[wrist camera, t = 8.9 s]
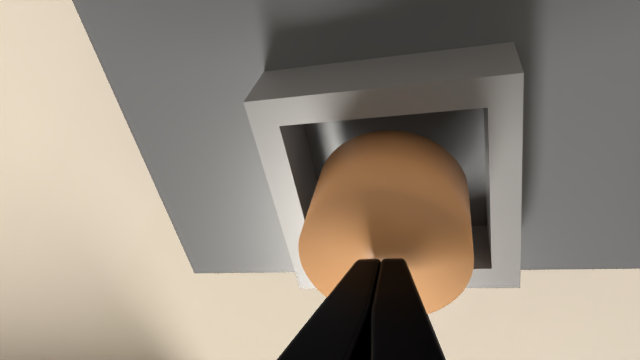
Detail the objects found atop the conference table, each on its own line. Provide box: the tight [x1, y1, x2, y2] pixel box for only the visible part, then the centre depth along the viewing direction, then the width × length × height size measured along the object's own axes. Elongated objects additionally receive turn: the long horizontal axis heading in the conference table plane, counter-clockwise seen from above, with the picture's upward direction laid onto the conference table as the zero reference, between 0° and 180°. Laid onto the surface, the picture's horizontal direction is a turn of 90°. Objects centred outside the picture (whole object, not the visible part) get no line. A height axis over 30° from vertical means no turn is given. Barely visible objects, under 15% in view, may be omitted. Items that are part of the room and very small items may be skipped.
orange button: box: [298, 130, 474, 314], centre depth 10 cm, size 3×3×2 cm
